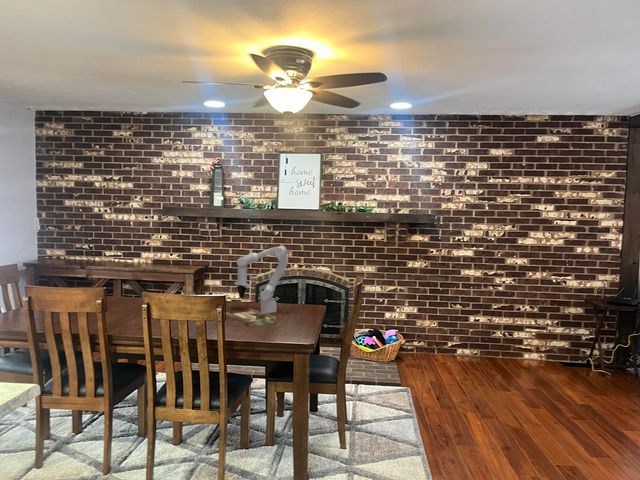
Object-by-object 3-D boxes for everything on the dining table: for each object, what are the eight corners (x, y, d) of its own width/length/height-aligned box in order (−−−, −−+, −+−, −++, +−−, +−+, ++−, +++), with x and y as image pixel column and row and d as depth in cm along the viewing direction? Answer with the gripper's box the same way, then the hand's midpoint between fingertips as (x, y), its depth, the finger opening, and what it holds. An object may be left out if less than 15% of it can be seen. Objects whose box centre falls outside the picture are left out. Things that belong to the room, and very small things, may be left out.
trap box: (250, 313, 277) (250, 308, 277) (276, 322, 257) (276, 317, 257) (225, 317, 265) (225, 312, 265) (250, 326, 245) (250, 321, 245)
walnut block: (261, 319, 256) (261, 312, 256) (265, 321, 253) (265, 314, 253) (255, 320, 253) (256, 313, 253) (259, 322, 250) (260, 315, 250)
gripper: (230, 275, 280) (229, 296, 281) (243, 278, 270) (242, 300, 270) (240, 274, 285) (239, 295, 286) (252, 277, 274) (252, 299, 275)
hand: (241, 297), depth 278 cm, fingers closed
